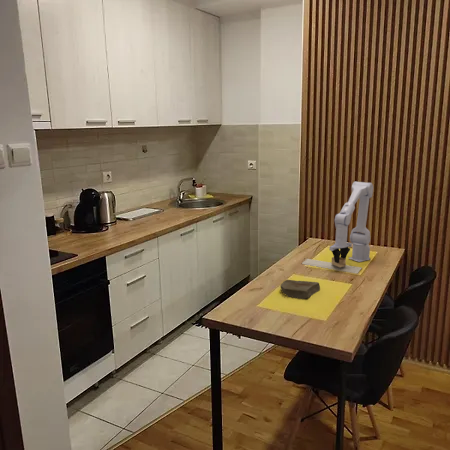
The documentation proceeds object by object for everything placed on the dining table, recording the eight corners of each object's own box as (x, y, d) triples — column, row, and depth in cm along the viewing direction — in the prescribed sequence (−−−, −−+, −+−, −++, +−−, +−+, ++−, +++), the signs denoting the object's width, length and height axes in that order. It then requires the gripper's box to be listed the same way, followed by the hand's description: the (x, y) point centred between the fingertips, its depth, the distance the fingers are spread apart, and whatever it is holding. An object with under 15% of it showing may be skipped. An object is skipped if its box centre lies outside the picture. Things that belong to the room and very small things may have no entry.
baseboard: (356, 275, 215) (361, 270, 223) (357, 270, 214) (362, 265, 223) (300, 266, 230) (307, 261, 239) (300, 261, 230) (307, 256, 238)
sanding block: (336, 264, 227) (337, 256, 226) (345, 267, 222) (345, 259, 221) (331, 265, 224) (331, 257, 223) (340, 268, 220) (340, 260, 219)
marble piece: (320, 289, 196) (320, 281, 195) (315, 301, 183) (315, 292, 182) (284, 285, 202) (285, 276, 201) (277, 296, 189) (277, 287, 188)
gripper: (345, 233, 226) (343, 257, 229) (325, 236, 218) (324, 262, 221) (355, 235, 220) (353, 260, 223) (336, 239, 212) (334, 265, 215)
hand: (339, 261), depth 222 cm, fingers closed on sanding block, 4 cm apart
